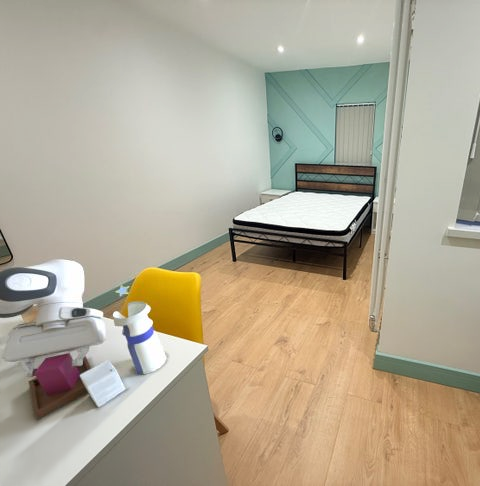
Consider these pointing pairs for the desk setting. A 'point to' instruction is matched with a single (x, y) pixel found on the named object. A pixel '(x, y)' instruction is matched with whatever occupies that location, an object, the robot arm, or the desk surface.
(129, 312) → the white milk jug
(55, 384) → the top block
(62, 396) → the tray
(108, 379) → the product box
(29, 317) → the base block
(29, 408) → the desk surface
